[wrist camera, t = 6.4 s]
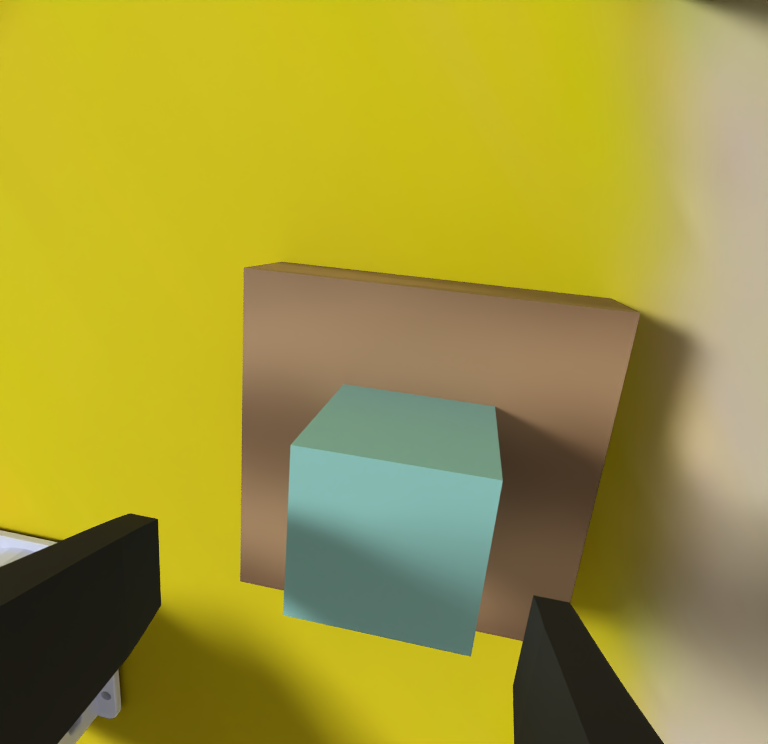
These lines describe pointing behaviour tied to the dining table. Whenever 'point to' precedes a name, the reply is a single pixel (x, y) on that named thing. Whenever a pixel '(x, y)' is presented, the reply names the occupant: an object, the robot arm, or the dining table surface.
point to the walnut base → (446, 381)
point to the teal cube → (393, 516)
